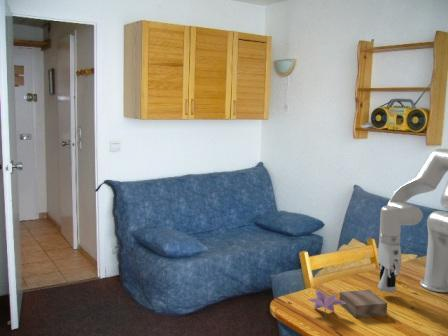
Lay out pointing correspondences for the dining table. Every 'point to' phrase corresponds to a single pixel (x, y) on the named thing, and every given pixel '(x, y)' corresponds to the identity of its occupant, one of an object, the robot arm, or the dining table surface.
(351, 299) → the walnut block
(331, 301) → the lily
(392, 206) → the robot arm
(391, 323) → the dining table surface
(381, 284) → the flask
